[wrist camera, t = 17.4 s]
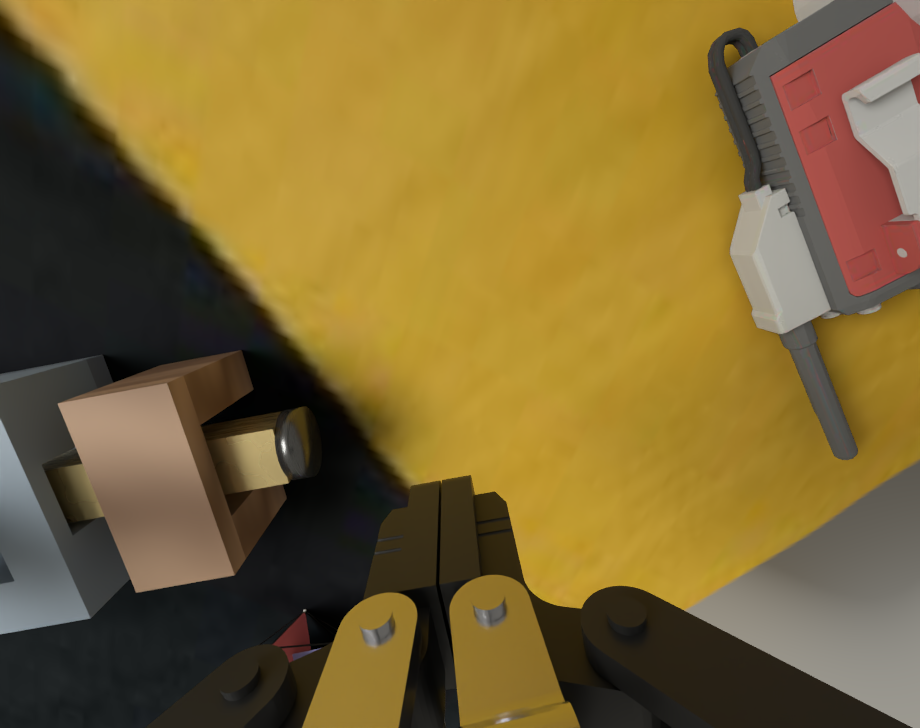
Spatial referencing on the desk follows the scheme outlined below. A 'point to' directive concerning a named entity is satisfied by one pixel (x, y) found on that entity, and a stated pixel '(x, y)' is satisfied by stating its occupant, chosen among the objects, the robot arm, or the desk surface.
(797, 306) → the walkie-talkie
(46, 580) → the dock socket
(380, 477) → the desk surface
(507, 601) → the robot arm
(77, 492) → the lock pin
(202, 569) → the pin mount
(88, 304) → the desk surface
